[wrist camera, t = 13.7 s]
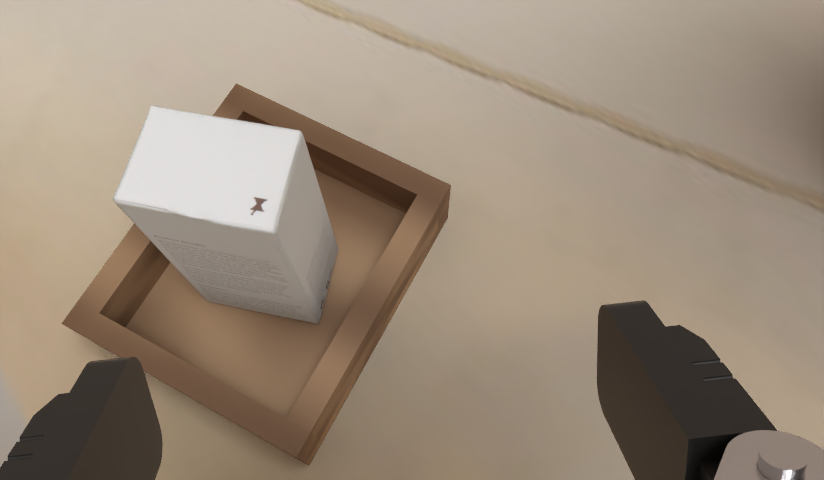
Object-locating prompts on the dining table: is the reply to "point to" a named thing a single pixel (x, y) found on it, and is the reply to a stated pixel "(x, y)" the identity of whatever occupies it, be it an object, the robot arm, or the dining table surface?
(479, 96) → the dining table surface
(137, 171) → the skincare box
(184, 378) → the tray
